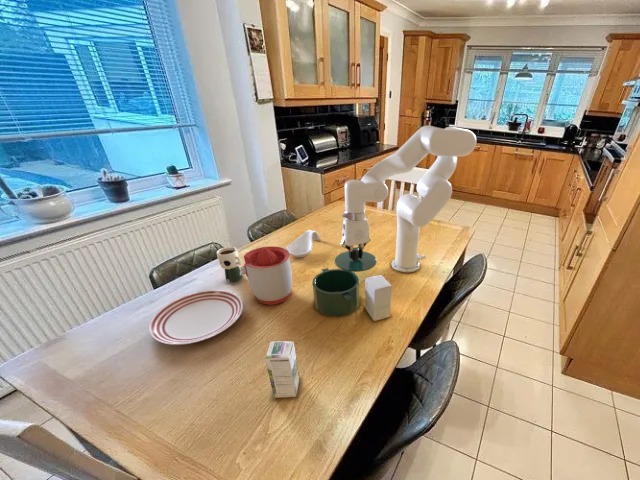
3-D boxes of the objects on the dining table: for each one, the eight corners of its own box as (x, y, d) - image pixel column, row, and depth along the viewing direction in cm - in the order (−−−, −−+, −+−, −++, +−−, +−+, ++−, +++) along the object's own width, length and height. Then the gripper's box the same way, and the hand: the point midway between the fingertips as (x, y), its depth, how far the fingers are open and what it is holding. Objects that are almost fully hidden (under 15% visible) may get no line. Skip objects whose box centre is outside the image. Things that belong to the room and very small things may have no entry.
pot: (345, 282, 124) (344, 262, 119) (370, 311, 109) (370, 289, 104) (306, 293, 117) (303, 272, 112) (328, 326, 102) (326, 303, 96)
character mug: (217, 281, 122) (208, 252, 115) (230, 272, 128) (222, 244, 121) (239, 286, 119) (231, 257, 112) (251, 278, 125) (244, 249, 118)
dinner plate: (198, 361, 87) (195, 352, 86) (130, 336, 95) (126, 328, 93) (262, 307, 109) (260, 299, 107) (202, 290, 116) (200, 283, 115)
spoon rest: (306, 262, 137) (304, 248, 133) (282, 259, 139) (280, 244, 135) (326, 240, 157) (325, 227, 153) (304, 238, 158) (303, 225, 154)
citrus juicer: (246, 289, 118) (234, 242, 107) (292, 281, 123) (285, 236, 112) (247, 313, 106) (233, 263, 95) (298, 303, 112) (291, 255, 100)
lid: (364, 250, 136) (364, 237, 132) (384, 267, 124) (385, 253, 120) (328, 258, 128) (327, 244, 125) (345, 277, 116) (345, 262, 113)
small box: (390, 316, 107) (392, 285, 100) (373, 321, 104) (374, 290, 97) (380, 304, 113) (381, 274, 106) (364, 308, 110) (364, 277, 103)
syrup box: (278, 380, 83) (268, 341, 75) (300, 379, 83) (293, 340, 75) (273, 398, 78) (263, 358, 70) (297, 397, 78) (289, 357, 70)
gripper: (339, 221, 108) (341, 266, 119) (379, 214, 116) (377, 258, 126) (331, 214, 114) (333, 258, 124) (369, 208, 121) (368, 250, 131)
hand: (355, 257), depth 125 cm, fingers closed on lid, 2 cm apart
